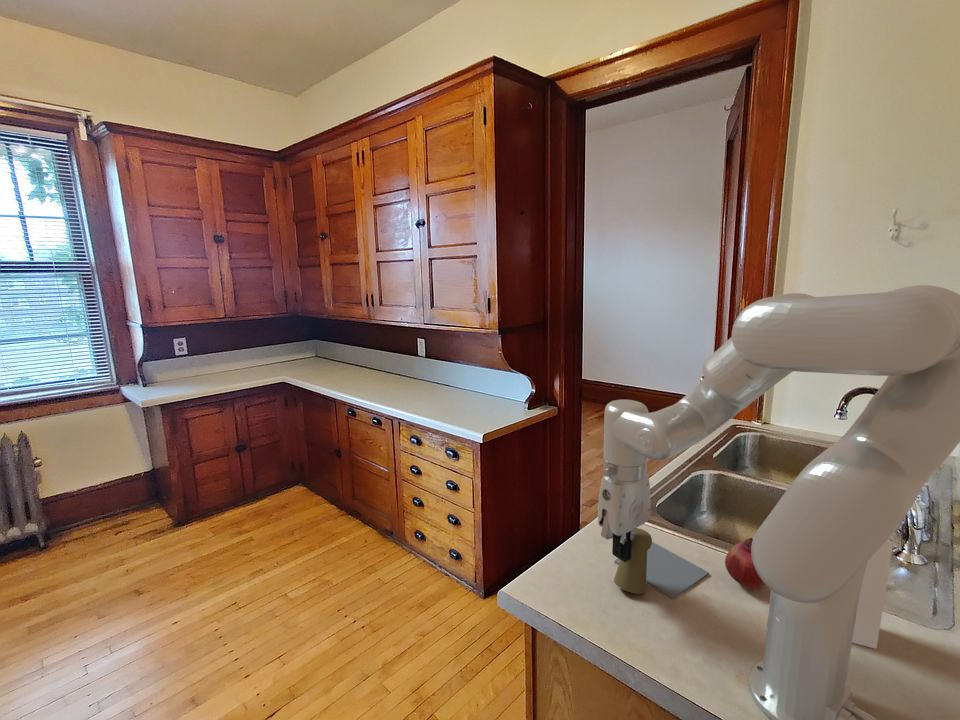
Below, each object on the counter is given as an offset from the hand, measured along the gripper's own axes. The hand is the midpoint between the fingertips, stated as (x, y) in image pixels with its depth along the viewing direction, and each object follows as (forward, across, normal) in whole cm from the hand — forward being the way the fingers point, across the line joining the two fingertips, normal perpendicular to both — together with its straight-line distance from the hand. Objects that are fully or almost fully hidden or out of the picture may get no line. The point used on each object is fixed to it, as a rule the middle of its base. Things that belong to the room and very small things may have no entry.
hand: (621, 556), depth 89 cm
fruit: (+8, +21, -13) cm, 26 cm away
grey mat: (+8, +12, 0) cm, 15 cm away
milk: (+8, +23, -30) cm, 38 cm away
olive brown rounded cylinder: (+7, +2, 0) cm, 8 cm away
